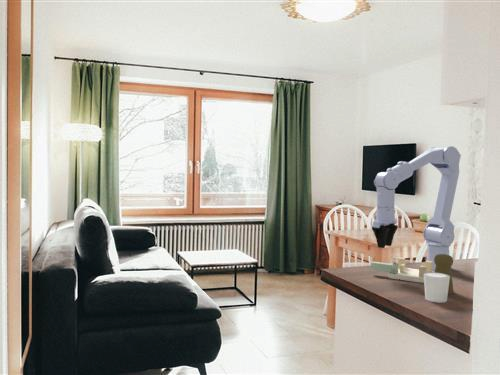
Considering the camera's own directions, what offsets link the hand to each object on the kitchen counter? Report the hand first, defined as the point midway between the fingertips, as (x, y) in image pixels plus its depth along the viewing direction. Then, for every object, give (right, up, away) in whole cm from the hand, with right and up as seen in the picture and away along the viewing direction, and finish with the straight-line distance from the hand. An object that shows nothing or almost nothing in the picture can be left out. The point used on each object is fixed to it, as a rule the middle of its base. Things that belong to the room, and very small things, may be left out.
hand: (384, 246), depth 156 cm
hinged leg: (-1, -8, -3) cm, 8 cm away
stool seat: (+8, -10, -4) cm, 13 cm away
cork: (+11, -11, -21) cm, 26 cm away
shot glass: (+6, -11, -29) cm, 32 cm away
